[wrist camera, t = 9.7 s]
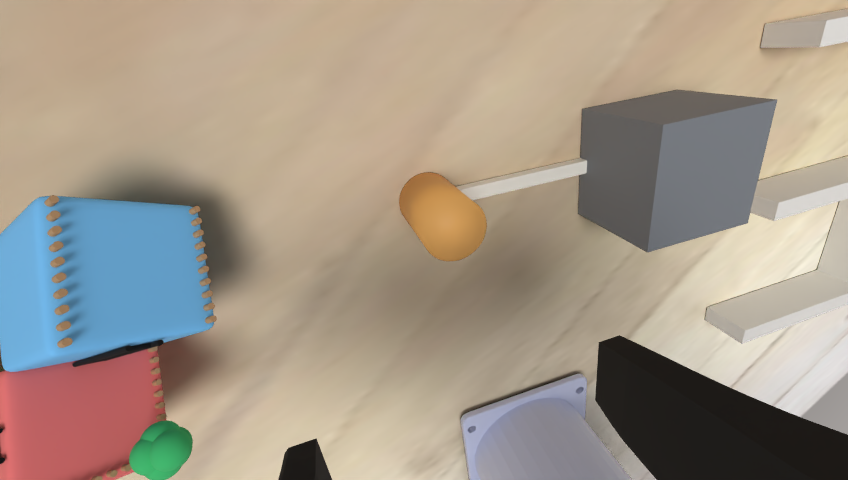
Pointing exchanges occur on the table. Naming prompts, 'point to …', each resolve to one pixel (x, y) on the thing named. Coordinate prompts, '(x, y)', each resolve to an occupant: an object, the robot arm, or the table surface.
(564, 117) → the table surface
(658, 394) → the robot arm
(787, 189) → the lane rack
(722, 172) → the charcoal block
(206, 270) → the building blocks
